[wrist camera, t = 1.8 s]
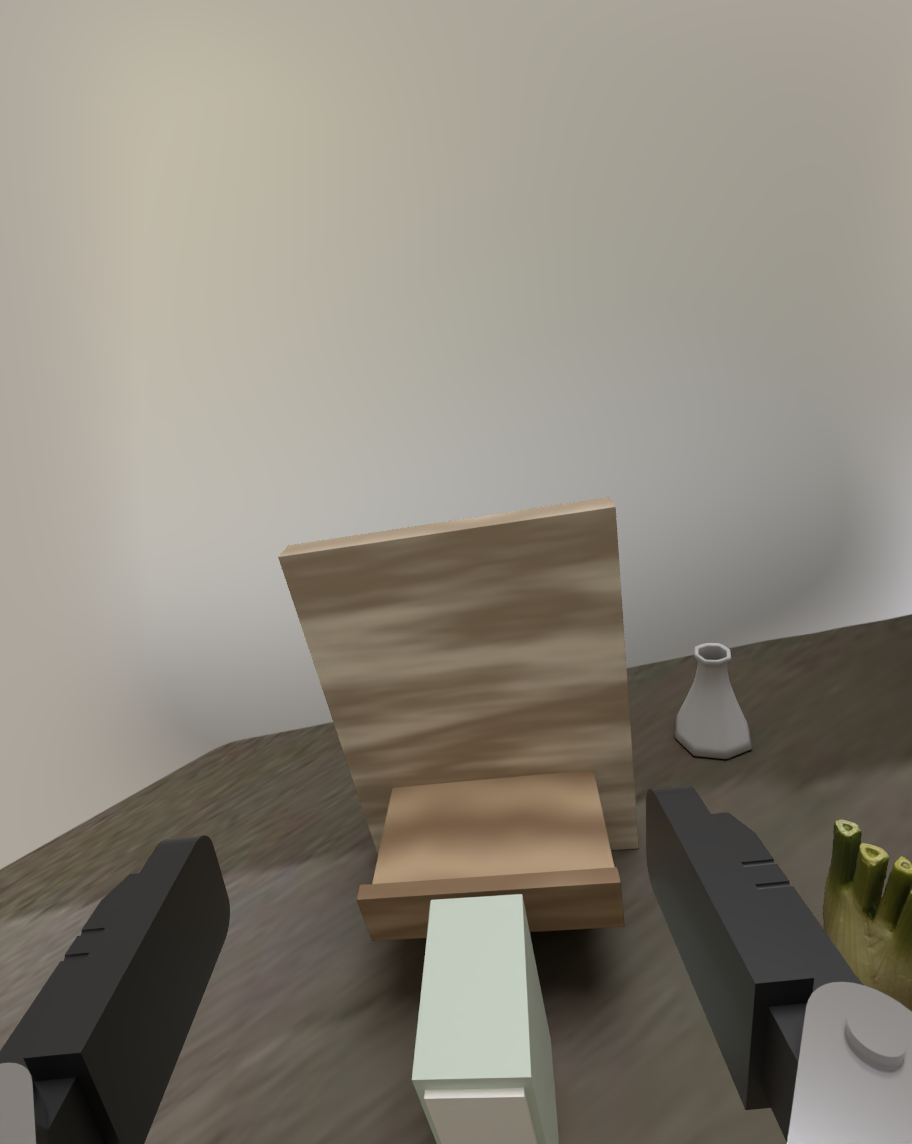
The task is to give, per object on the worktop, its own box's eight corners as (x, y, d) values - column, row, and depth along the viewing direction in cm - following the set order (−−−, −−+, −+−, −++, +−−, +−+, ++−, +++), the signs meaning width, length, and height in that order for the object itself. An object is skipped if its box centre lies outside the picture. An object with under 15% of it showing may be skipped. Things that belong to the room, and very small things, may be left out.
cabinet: (566, 1234, 29) (531, 1086, 23) (468, 1233, 29) (410, 1088, 24) (551, 1041, 36) (522, 894, 30) (473, 1044, 37) (430, 899, 31)
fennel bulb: (806, 940, 39) (820, 812, 34) (889, 944, 38) (916, 812, 33) (843, 1038, 34) (866, 904, 29) (940, 1047, 33) (981, 909, 28)
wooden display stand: (677, 993, 37) (663, 586, 25) (354, 1006, 40) (201, 646, 28) (621, 784, 54) (596, 476, 41) (394, 804, 56) (309, 521, 44)
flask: (687, 765, 54) (685, 679, 50) (664, 716, 61) (661, 636, 57) (766, 756, 54) (771, 668, 49) (734, 708, 60) (736, 626, 56)
